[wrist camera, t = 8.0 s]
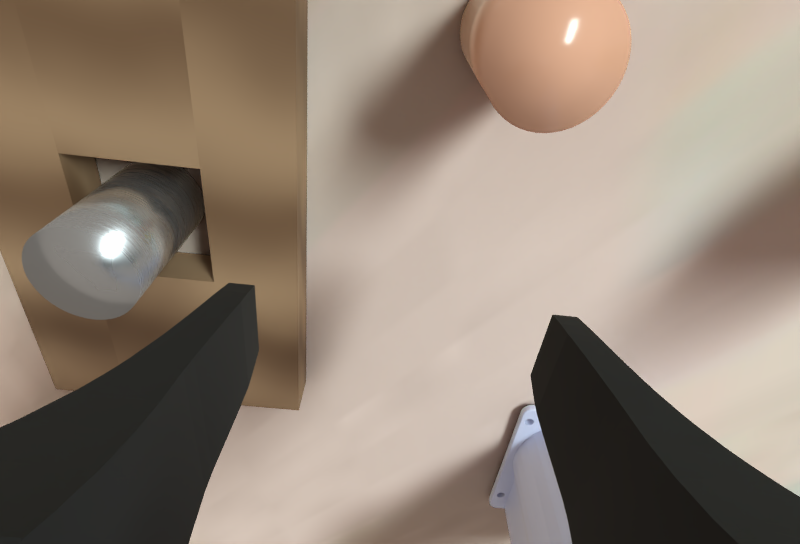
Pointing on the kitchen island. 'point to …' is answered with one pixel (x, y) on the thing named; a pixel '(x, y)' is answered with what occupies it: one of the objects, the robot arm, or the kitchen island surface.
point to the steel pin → (114, 240)
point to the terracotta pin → (546, 57)
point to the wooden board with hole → (163, 161)
